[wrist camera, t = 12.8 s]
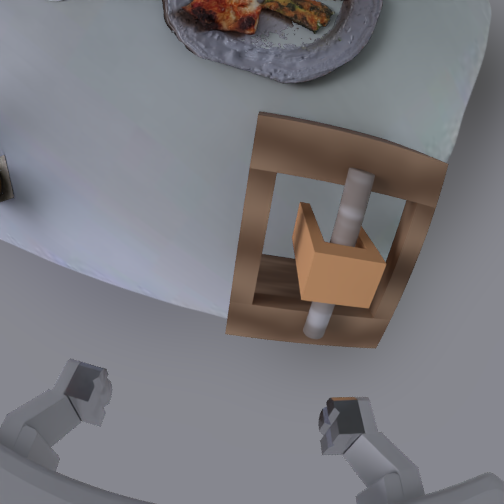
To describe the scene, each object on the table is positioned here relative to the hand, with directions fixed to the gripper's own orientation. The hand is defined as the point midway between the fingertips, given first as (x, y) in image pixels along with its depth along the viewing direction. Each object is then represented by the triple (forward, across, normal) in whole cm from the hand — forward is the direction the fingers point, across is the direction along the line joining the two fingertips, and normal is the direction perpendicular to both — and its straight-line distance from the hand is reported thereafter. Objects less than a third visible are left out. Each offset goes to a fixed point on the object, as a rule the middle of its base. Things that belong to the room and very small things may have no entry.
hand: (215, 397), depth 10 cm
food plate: (+31, 0, -24) cm, 39 cm away
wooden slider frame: (+30, -8, +2) cm, 31 cm away
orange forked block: (+23, -8, +2) cm, 24 cm away
